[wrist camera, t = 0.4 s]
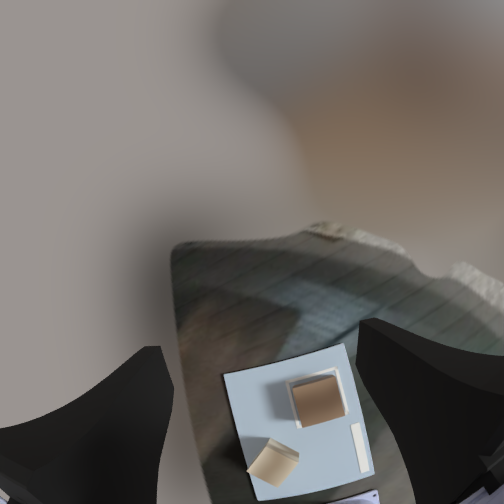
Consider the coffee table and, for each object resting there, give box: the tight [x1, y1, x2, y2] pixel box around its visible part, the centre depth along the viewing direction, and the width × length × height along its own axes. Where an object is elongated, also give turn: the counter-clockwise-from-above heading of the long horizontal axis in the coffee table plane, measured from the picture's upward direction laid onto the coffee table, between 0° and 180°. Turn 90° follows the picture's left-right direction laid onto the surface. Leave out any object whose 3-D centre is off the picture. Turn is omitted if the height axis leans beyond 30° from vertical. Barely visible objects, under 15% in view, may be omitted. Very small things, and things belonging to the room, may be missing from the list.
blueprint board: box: [224, 343, 375, 501], centre depth 29 cm, size 20×16×1 cm
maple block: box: [246, 438, 299, 488], centre depth 26 cm, size 4×4×4 cm
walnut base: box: [292, 375, 345, 428], centre depth 29 cm, size 5×5×4 cm
